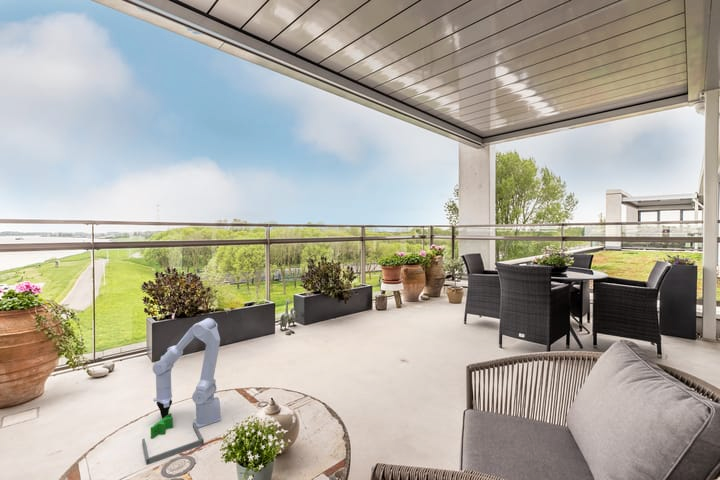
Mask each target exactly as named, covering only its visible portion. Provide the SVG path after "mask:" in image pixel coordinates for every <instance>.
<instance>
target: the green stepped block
mask: <svg viewBox="0 0 720 480" xmlns="http://www.w3.org/2000/svg"><path fill="white" fill-rule="evenodd" d="M172 415H173V413H170V412H169V413H168V415H166V416H165V417H164V418H163V419H162V418H161V419H160V420H159V421H158V422H156V423H155V424H154V425H152V426H151V427H150V439H155V438H156V437H157V436H159V435H164V436H165V434H166V432H167V430H169V429H173V428H174V418H173V416H172Z"/></svg>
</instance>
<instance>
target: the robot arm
mask: <svg viewBox="0 0 720 480" xmlns="http://www.w3.org/2000/svg"><path fill="white" fill-rule="evenodd" d="M194 339H198V340H199V341H202V342H203V343H205V350H204V355H203V361H202V366H201V367H202V368H201V372H200V378H199V381H198V382H197V385H196V386H195V390H194V392H193V393H192V397H191V398H192V402H194V403H195V418H194V419H193V423H194V422H195V424H196V426H197V428H198V429H199V428H202V427H205V426H207V425H211V424H215V423H217V422H220V421H221V420H222V418H221V401H220V398H219V396H217V397H215V394H216V392H217V384H216V380H217V379H215V373H216V367H217V361H218V356H219V350H220V345H221V336H220V333H219V329H218V323H217V322H216V321H215V319H213V318H211V317H207V318H204V319H203V320H201V321H199V322H196V323H195V324H193V325H192V326H191V327H190V328H189V329H188V330H187V331H186V333H185V334H184V335H183V337H182V338H181V339H180V341H178V343H177V344H176V345H172V346H169V347H168V348H167V349H166V350H167V351H166V352H165V353H164V355H161V356H160V359H159V360H157V361H155V362H154V363H153V365H152V372H153V373H154V374H155V389H156V390H155V393H156V395H155V396H156V397H155V398H152V399H153V402H156V405H157V407H158V409H159V411H160V412H159V413H160V416H161V419H163V418H164V417H165V416H166V415H168V414H169V413H170V409H171V406H172V404H173V400H172V398H173V394H172V369H173V368H174V365H175V363H176V362H177V361H178V360H179V359H180V358H181V357H182V355H183V354H184V349H185V348H186V347H187V346H188V345H189V344H190V343H191V342H192V340H194Z"/></svg>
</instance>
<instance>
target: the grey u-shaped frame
mask: <svg viewBox="0 0 720 480" xmlns="http://www.w3.org/2000/svg"><path fill="white" fill-rule="evenodd" d="M192 429H193V431H194V433H195V435H196V437H197V439H198V440H195V441H192V442H189V443H186V444H184V445H181V446H177V447H175V448H173V449H170V450H167V451H164V452H160V453H158V454H155V455H153V456H149V452H148V447H147V443H146V439H145V438H142V442H141V443H142V448H143V449H142V450H143V454H144V458H145V465H150V464H153V463H156V462H158V461H160V460H163V459H166V458H167V459H168V458H169V457H171V456H175V455H178V454H180V453H183V452H186V451H189V450H191V449H194V448H197V447H200V446H202V445H204V443H205V441H204V438H203V436H202V434H201V432H200V430H199V428H197V426H196V424H195V422H194V421H193V422H192Z"/></svg>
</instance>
